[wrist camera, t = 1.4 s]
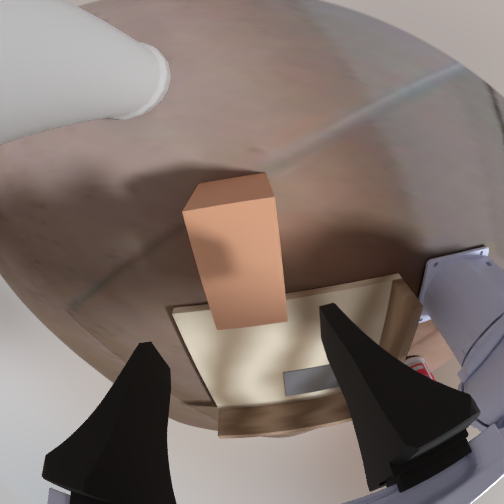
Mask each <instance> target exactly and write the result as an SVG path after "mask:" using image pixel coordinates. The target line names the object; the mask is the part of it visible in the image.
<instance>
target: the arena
mask: <svg viewBox="0 0 504 504" xmlns="http://www.w3.org/2000/svg"><path fill="white" fill-rule="evenodd" d="M285 295H286V306H287V317H288V322H281V323H274V324H267V325H260V326H252V327H243V328H235V329H225V330H217V329H216V326H215V323H214V320H213V317H212V314H211V310H210V307H209V304H204V305H195V306H186V307H176V308H174V309H173V312H172V315H173V317H174V319H175V322H176V324H177V326H178V328H179V331H180V333H181V335H182V337H183V339H184V342H185V344H186V346H187V348H188V350H189V352H190V354H191V356H192V358H193V360H194V362H195V365H196V367H197V369H198V371H199V372H200V374H201V376H202V378H203V380H204V382H205V384H206V386H207V388H208V390H209V392H210V394H211V395H212V397H213V399H214V401H215V403H216V405H217V406H218V408H219V421H218V437H219V438H245V437H258V436H269V435H278V434H286V433H293V432H299V431H306V430H311V429H317V428H322V427H327V426H331V425H336V424H340V423H344V422H349V421H352V418H351V415H350V411H349V408H348V405H347V403H346V400H345V398H344V396H343V393H342V391H341V389H340V386H339V384H338V382H337V380H336V377H335V375H334V373H333V371H332V368H331V366H330V364H329V361H328V359H327V356H326V353H325V350H324V347H323V343H322V340H321V329H320V314H319V306H322V305H326V304H330V303H335V304H336V305H337V306H338V307H339V308H340V309H341V310H342V311H343V312H344V313H345V314H346V315H347V317H348V318H349V319H350V320H351V321H353V322H354V323H355V324H356V325H357V326H358V327H359V328H360V329H361V330H362V331H363V332H364V333H365V334H366V335H368V336H369V337H370V338H371V339H372V340H373V341H375V342H376V343H377V344H378V345H379V346H381V347H382V348H383V349H384V350H386V351H387V352H388V353H390V354H391V355H393V356H394V357H395V358H397V359H398V360H400V361H401V362H403V363H404V362H405V359H406V357H407V354H408V351H409V349H410V346H411V343H412V341H413V338H414V335H415V332H416V329H417V326H418V323H419V320H420V317H421V314H422V310H423V305H422V304H421V303H420V301H419V300H418V298H417V297H416V296H415V294H414V293H413V292H412V290H411V289H410V288H409V286H408V285H407V284H406V283H405V281H404V280H403V279H402V277H401V276H400V275H399V274H398V273H397V274H392V275H387V276H382V277H377V278H372V279H367V280H362V281H357V282H351V283H346V284H340V285H335V286H329V287H323V288H317V289H311V290H305V291H299V292H293V293H286V294H285Z"/></svg>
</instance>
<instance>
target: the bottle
mask: <svg viewBox="0 0 504 504" xmlns="http://www.w3.org/2000/svg"><path fill="white" fill-rule="evenodd" d="M170 79H171V74H170V69H169V64H168V61H167V60H166V59H165V58H164V56H163V55H162V54H161V53H160V51H159V50H158V49H156V48H155V47H152V46H150V45H148V44H145V43H143V42H137V41H136V40H134V39H133V38H131V37H129V36H128V35H126V34H125V33H123V32H121V31H120V30H118V29H117V28H115V27H113V26H111V25H110V24H108V23H106V22H105V21H103V20H101V19H99V18H98V17H96V16H94V15H92V14H90V13H88V12H87V11H85V10H83V9H81V8H79V7H77V6H75V5H73V4H71V3H69V2H67V1H65V0H0V145H1V144H4V143H7V142H10V141H13V140H16V139H19V138H22V137H25V136H29V135H32V134H35V133H39V132H43V131H46V130H50V129H54V128H58V127H62V126H67V125H71V124H76V123H81V122H86V121H91V120H97V119H103V118H109V117H110V118H112V119H132V118H135V117H138V116H141V115H143V114H146V113H148V112H149V111H151V110H152V109H153V108H154V107H156V106H157V105H158V104H159V103H160V102H161V101H162V99H163V98H164V96H165V94H166V93H167V91H168V88H169V84H170Z"/></svg>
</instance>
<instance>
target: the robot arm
mask: <svg viewBox="0 0 504 504" xmlns="http://www.w3.org/2000/svg"><path fill="white" fill-rule="evenodd" d="M488 252H489V248H488V247H487V246H485V247H481V248H476V249H472V250H468V251H464V252H460V253H455V254H451V255H447V256H442V257H438V258H433V259H430V260H428V262H427V263H426V268H425V272H424V277H423V281H422V286H421V290H420V294H419V298H418V300H419V301H420V303H421V304H422V305H423V310H422V314H421V317H420V320H419V323H421V322H424V321H427V320H430V319H431V320H432V321H433V323H434V324H435V326H436V327H437V329H438V330H439V332H440V333H441V335H442V336H443V338H444V339H445V341H446V342H447V344H448V345H449V347H450V349H451V350H452V352H453V353H454V355H455V356H456V358H457V360H458V362H459V363H460V365H461V367H462V368H461V370H460V371H459V372H458V376H459V378H460V379H461V383H460V384H459V387H458V390H456V389H453V388H451V387H448V386H446V385H444V384H441V383H439V382H437V381H435V380H433V379H431V378H429V377H427V376H425V375H423V374H421V373H419V372H418V371H416V370H414V369H412V368H411V367H409V366H407V365H406V364H404V363H403V362H401V361H400V360H398V359H397V358H395V357H394V356H393V355H391V354H390V353H388V352H387V351H386V350H384V349H383V348H382V347H381V346H379V345H378V344H377V343H376V342H375V341H373V340H372V339H371V338H370V337H369V336H368V335H366V334H365V333H364V332H363V331H362V330H361V329H360V328H359V327H358V326H357V325H356V324H355V323H354V322H353V321H351V320H350V319H349V318H348V317H347V315H346V314H345V313H344V312H343V311H342V310H341V309H340V308H339V307H338V306H337V305H336V304H335V303H330V304H326V305H322V306H319V314H320V329H321V340H322V343H323V347H324V350H325V353H326V356H327V359H328V361H329V364H330V366H331V368H332V371H333V373H334V375H335V377H336V380H337V382H338V384H339V386H340V389H341V391H342V393H343V396H344V398H345V400H346V403H347V405H348V408H349V411H350V415H351V418H352V421H353V425H354V428H355V432H356V435H357V439H358V443H359V447H360V451H361V455H362V459H363V463H364V469H365V474H366V479H367V484H368V487H369V491H373V490H376V489H378V488H381V487H383V486H387V488H385V489H383V490H380V491H378V492H375V493H373V494H370V495H367V496H364V497H361V498H359V499H356V500H352V501H349V502H346V503H343V504H471V503H472V502H474V501H475V500H476V499H477V498H479V497H480V496H481V495H482V494H483V493H484V492H486V491H487V490H488V489H489V488H490V487H491V486H493V485H494V484H495V483H496V482H497V481H498V480H499V479H501V478H502V477H503V476H504V270H503V269H502V268H500V267H499V266H498V265H497V264H496V263H495V262H494V261H493V260H492V259H490V258H489V257H488ZM170 393H171V374H170V368H169V366H168V365H167V364H166V362H165V361H164V359H163V358H162V357H161V355H160V354H159V352H158V351H157V349H156V348H155V347H154V345H153V344H152V342H145V343H139V345H138V346H137V347H136V349H135V351H134V352H133V354H132V355H131V357H130V359H129V360H128V362H127V363H126V365H125V367H124V368H123V370H122V371H121V373H120V375H119V376H118V378H117V379H116V381H115V383H114V384H113V386H112V387H111V388H110V390H109V391H108V393H107V395H106V396H105V398H104V399H103V400H102V402H101V403H100V404H99V406H98V407H97V408H96V409H95V411H94V412H93V413H92V414H91V415H90V417H89V418H88V419H87V420H86V421H85V422H84V423H83V424H82V425H81V426H80V427H79V428H78V429H77V430H76V431H75V432H74V433H73V434H72V435H71V436H70V437H69V438H68V439H67V440H65V441H64V442H63V443H62V444H61V445H59V446H58V447H57V448H55V449H54V450H52V451H51V452H49V453H48V454H47V455H46V456H45V461H44V466H43V472H42V477H43V478H44V479H45V480H47V481H49V482H51V483H53V484H56V485H58V486H60V487H62V488H64V489H66V490H69V491H71V496H70V495H68V494H65V493H63V492H60V491H58V490H55V489H53V488H49V495H48V504H176V500H175V496H174V492H173V488H172V483H171V476H170V470H169V461H168V449H167V426H168V415H169V404H170ZM469 425H471V426H473V427H474V428H477V429H478V430H479V431H481V433H480V434H479V435H478V436H476V437H475V438H473V439H472V440H471V441H469V442H468V441H467V439H466V437H468V432H467V430H466V428H467V427H468V426H469Z"/></svg>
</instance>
